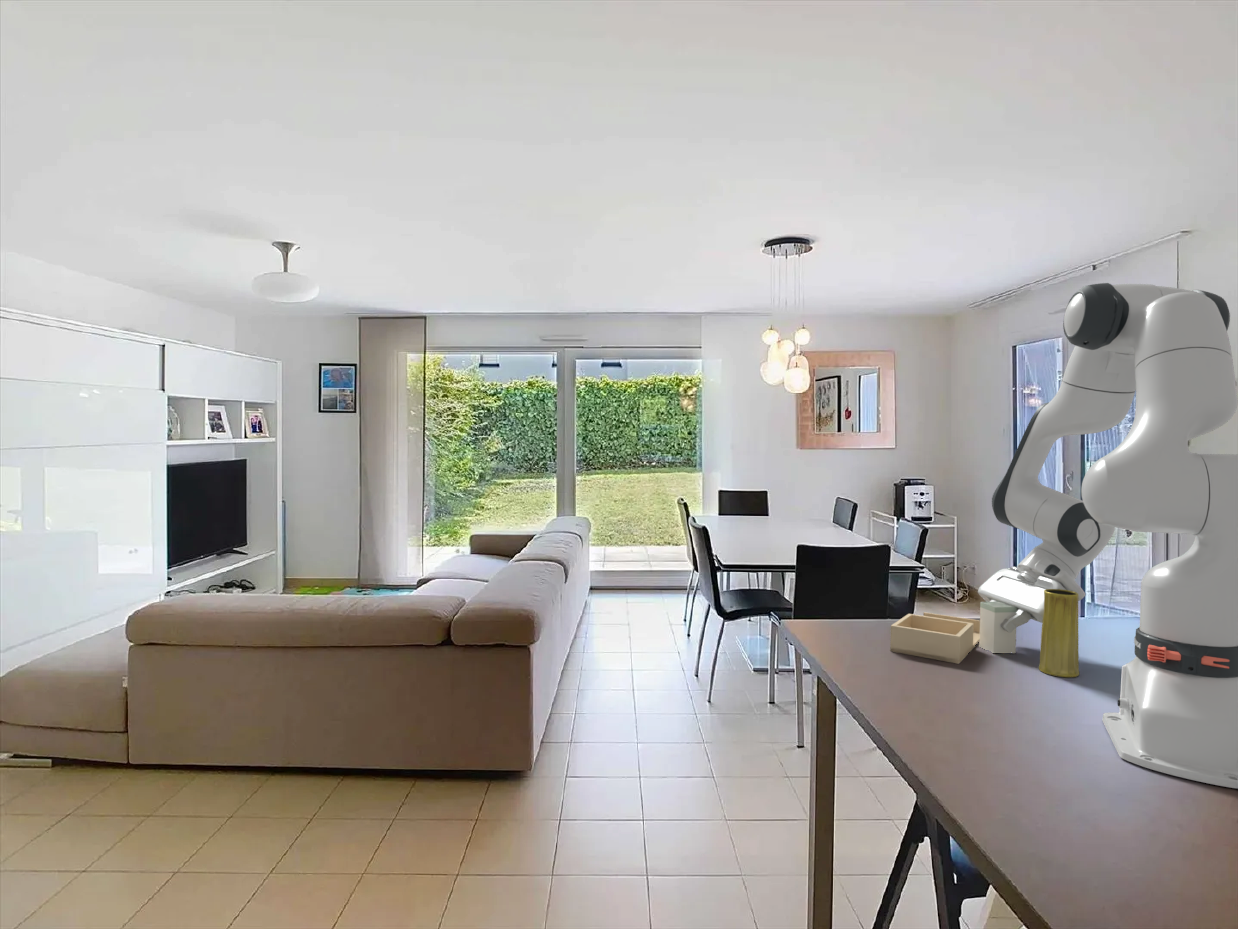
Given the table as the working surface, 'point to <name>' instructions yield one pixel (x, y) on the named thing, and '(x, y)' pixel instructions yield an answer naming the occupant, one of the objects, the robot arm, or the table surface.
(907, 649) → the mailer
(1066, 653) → the vase
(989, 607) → the carton
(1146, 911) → the table surface
